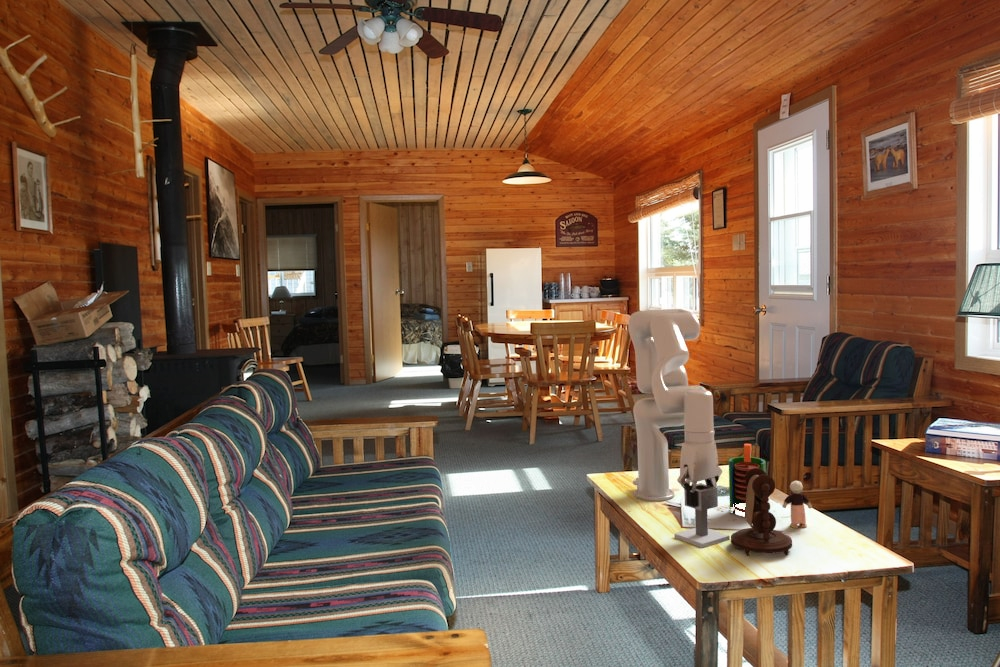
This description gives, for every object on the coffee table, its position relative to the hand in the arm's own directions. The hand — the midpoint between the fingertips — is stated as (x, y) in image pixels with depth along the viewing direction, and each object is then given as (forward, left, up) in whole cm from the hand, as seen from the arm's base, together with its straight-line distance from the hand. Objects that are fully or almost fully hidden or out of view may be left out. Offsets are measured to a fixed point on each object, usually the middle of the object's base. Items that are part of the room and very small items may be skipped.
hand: (700, 503), depth 199 cm
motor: (-7, +26, -10) cm, 29 cm away
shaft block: (0, 0, -10) cm, 10 cm away
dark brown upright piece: (+14, +6, -10) cm, 18 cm away
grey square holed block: (0, 0, -1) cm, 1 cm away
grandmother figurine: (+9, +27, -10) cm, 30 cm away
